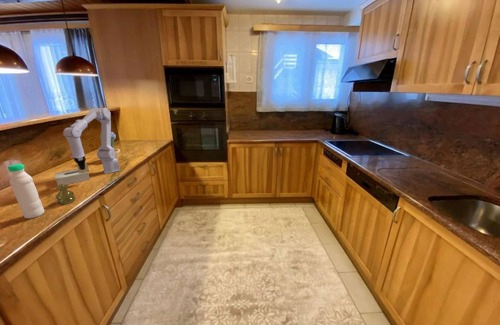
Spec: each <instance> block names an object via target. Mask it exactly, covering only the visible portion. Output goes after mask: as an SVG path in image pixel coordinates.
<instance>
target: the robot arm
mask: <svg viewBox="0 0 500 325" xmlns="http://www.w3.org/2000/svg"><path fill="white" fill-rule="evenodd" d="M111 113H112V112H110V110H109V108H107V107H104V108H99V107H96V108H95V107H92V108H91V109H90V110H89V111H88V113H87V114H86V115H85V116H84V117H83V118H82V119H76V120H75V122H74V123H73V124H71V125H70V127H66V128H64V130H63V133H62V135H63V136H64V137H65V138H66V140H67V142H68V144H69V145H68V146H69V148H70V152H71V155H70V156H69V157H70V158H73V161H74V162H75V163H76V165H78V166H79V168H80V169H81V170H84V169H85V163H86V160H87V158H86V154H85V152H84V148H83V145H82V139H81V136H82V133H83V131H85V129H86V128H88V124H90V122H92V121H93V120H94V119H95V120H97V121H99V122H100V124H101V126H100V127H101V129H100V130H101V132H100V134H101V139H100V142H101V143H100V144H101V145H100V146H99V147H98V148H97V153H96V157H97V158H98V159H99V160H100V161H101V163H102V167H103V168H102V169H103V170H102V172H103V173H104V175H107V174H110V173H115V172H119V171H121V169H120V164H119V161H118V160H119V159H118V160H117V158H115V151H114V149H115V148H112V147H111V132H112V123H111V122H112V121H111V117H112V116H111Z"/></svg>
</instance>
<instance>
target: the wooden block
mask: <svg viewBox="0 0 500 325" xmlns="http://www.w3.org/2000/svg"><path fill="white" fill-rule="evenodd" d="M76 167H77V168H76V169H78V171H79V174H80V173H85V172H88V173H89V172H90V170H89V165H88V163H86V162H85V169H84V170H81V169H80V168H79V166H78V164H76Z"/></svg>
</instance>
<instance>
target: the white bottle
mask: <svg viewBox="0 0 500 325" xmlns="http://www.w3.org/2000/svg"><path fill="white" fill-rule="evenodd" d="M7 170H8V171H9V173H11V175H10V180H9V185H10V186H11V188H12V191H13V194H14V196H15V199H16V200H17V203H18V205H19V206H18V207H19V209H20V210H21V213H22V216H23V218H24V219H27V220H28V219H31V220H32V219H35V218H37V217H41V216H42V215H43V214H44V213H45V208H44V206H43V204H42V200H41V199H40V197H39V193H38V189H37V188H36V185H35V183H34V179H33V176H31V175H30V174H28V173H27V172H26V171H25V165H24V164H22V163H15V164H11V165H9V166H8V167H7Z"/></svg>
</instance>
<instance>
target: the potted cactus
mask: <svg viewBox="0 0 500 325" xmlns="http://www.w3.org/2000/svg"><path fill="white" fill-rule="evenodd" d="M116 138H117V136H116V134H115V132H113V131H111V147H112V148H114V142H115V139H116ZM99 139H100V140H101V133H100V135H99ZM114 151H115V158H117V160H119V156H120V153H121V149H119V148H114Z"/></svg>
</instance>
